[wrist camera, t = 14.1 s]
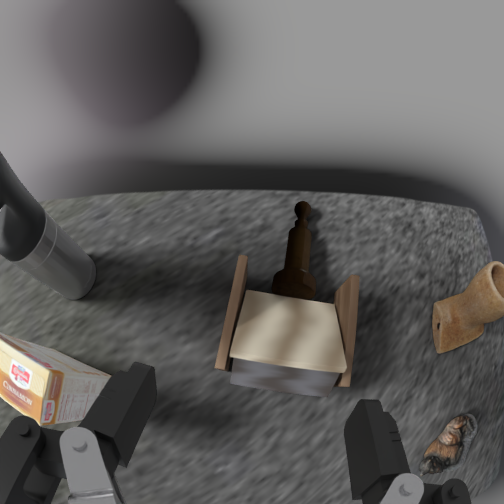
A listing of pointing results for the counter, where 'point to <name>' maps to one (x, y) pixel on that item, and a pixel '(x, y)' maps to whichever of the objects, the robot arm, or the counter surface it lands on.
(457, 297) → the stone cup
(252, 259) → the counter surface
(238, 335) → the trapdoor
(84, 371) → the coffeecake box
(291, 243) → the brown wooden pepper mill
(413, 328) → the counter surface
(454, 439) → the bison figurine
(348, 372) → the brown upright panels
